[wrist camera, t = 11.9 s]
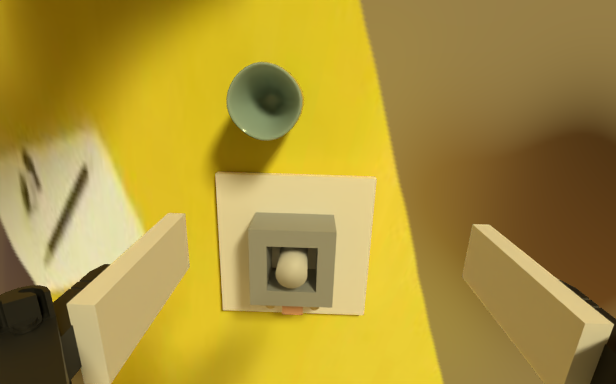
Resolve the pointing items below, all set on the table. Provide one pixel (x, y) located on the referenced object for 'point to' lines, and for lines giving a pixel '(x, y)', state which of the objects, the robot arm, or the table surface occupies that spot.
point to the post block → (291, 260)
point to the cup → (265, 101)
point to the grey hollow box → (291, 233)
